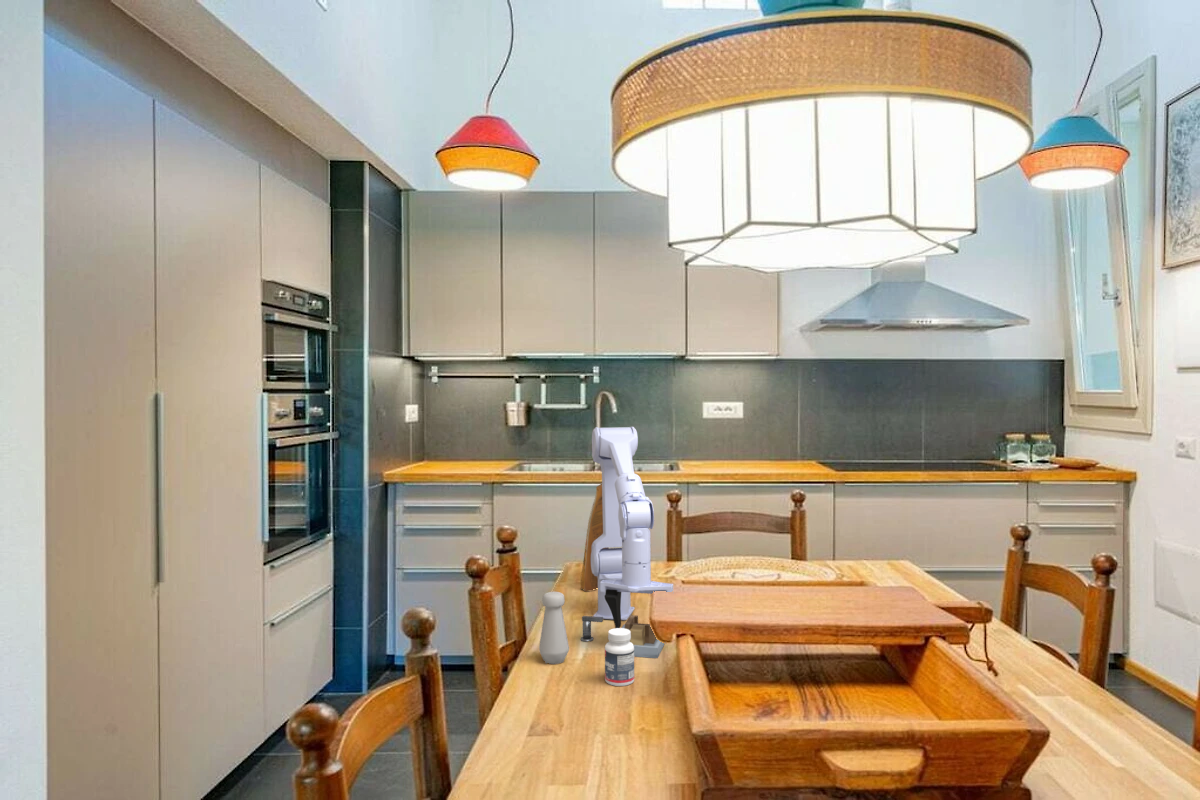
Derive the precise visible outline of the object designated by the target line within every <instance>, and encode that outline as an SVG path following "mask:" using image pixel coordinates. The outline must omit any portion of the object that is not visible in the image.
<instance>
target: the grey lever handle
mask: <svg viewBox="0 0 1200 800" xmlns="http://www.w3.org/2000/svg"><path fill="white" fill-rule="evenodd" d="M592 622H594V623H603V622H604V619H603V617H595V616H591V615H583V616H581V623H582V636H581V637H580V641H581V642H587V643H588V641H590V642H593V641H594V637H593V636H592Z"/></svg>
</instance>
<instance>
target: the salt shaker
mask: <svg viewBox="0 0 1200 800" xmlns="http://www.w3.org/2000/svg"><path fill="white" fill-rule="evenodd" d="M565 602H566V601H565V595H564V594H563V593H562V592H559V591H548V592H544V594H543V595H542V601H541V603H542V606H543V607H545V608H544V612H543V613H544V614H543V621H542V625H541V627H542V628H541V634H540V638H539V639H540V640H539V646H538V649H539V653H540V655H541V658H542V661H543V662H544V661H545V662H544V663H545V664H547V663H549V664H548V665H558V664H562V663H564V661H565V659H566V658H567V655H568V653H569V650H570V645H569V640H568V635H567V629H566V624H565V618H564V613H563V609H562V607H564V605H565Z"/></svg>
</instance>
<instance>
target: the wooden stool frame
mask: <svg viewBox="0 0 1200 800" xmlns="http://www.w3.org/2000/svg"><path fill="white" fill-rule="evenodd" d="M625 621H626V622H624V624H625V629H628V630H630V632H631V638H630V642H631V643H632V644H633V645H642V646H644V644H645V643H651V644H654V643H655V640H656V637H655V635H654V633H653V631H652V629H651V627H650V623H641V622H639V615H633V614H631V615H630V616H629V618H628V619H627V620H625Z"/></svg>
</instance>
